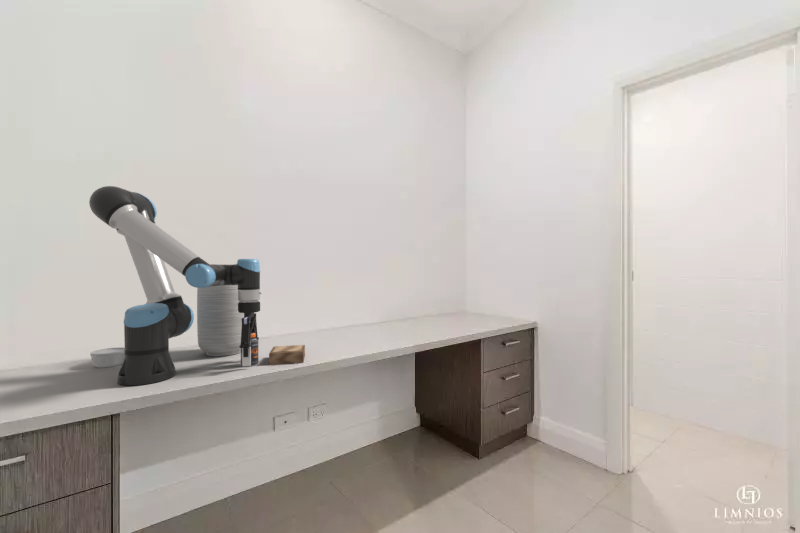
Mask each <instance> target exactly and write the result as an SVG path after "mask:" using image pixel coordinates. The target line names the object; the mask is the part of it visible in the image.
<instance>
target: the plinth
mask: <svg viewBox="0 0 800 533" xmlns="http://www.w3.org/2000/svg"><path fill="white" fill-rule="evenodd" d="M305 356H306V345H305V344H299V345H298V344H297V345H278V346H277V345H276V346H273V347H272V348H271V350H270V351H269V354H268V364H269V365H284V364H286V365H287V364H302V363H303V364H304V361H305Z"/></svg>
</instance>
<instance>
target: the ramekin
mask: <svg viewBox="0 0 800 533" xmlns="http://www.w3.org/2000/svg"><path fill="white" fill-rule="evenodd" d="M89 354H90V357H91V361H92V365H93V367H95V368H98V369H99V368H100V369H102V368H111V367H112V368H113V367H117V366H118V367H119V366H122V363H123V360H124V358H125V347H109V348H101V349H97V350H93V351H91V352H90V353H89Z"/></svg>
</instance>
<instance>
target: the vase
mask: <svg viewBox="0 0 800 533" xmlns="http://www.w3.org/2000/svg"><path fill="white" fill-rule="evenodd" d="M238 303H239V301H238V285H220V286H211V287H206V288H197V289H196V307H197V308H196V321H197V322H196V324H197V325H196V327H197V328H196V330H197V331H196V332H197V343H198V344H197V345H198V347H199V349H200V350H201V351H203V352H204V353H205V355H207V356H209V357H226V356H233V355H236V354H237V355H238V354H241V348H239V346H240V345H241V330H242V318H244V313H239V312H238Z"/></svg>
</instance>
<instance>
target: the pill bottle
mask: <svg viewBox="0 0 800 533" xmlns="http://www.w3.org/2000/svg"><path fill="white" fill-rule="evenodd" d="M255 337H256V335H255V333H251V339H250V347H251V366H250V367H254V366H257V365H259V340H257V339H256V338H255ZM240 365H241V366H242V348H241V353H240Z"/></svg>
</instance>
